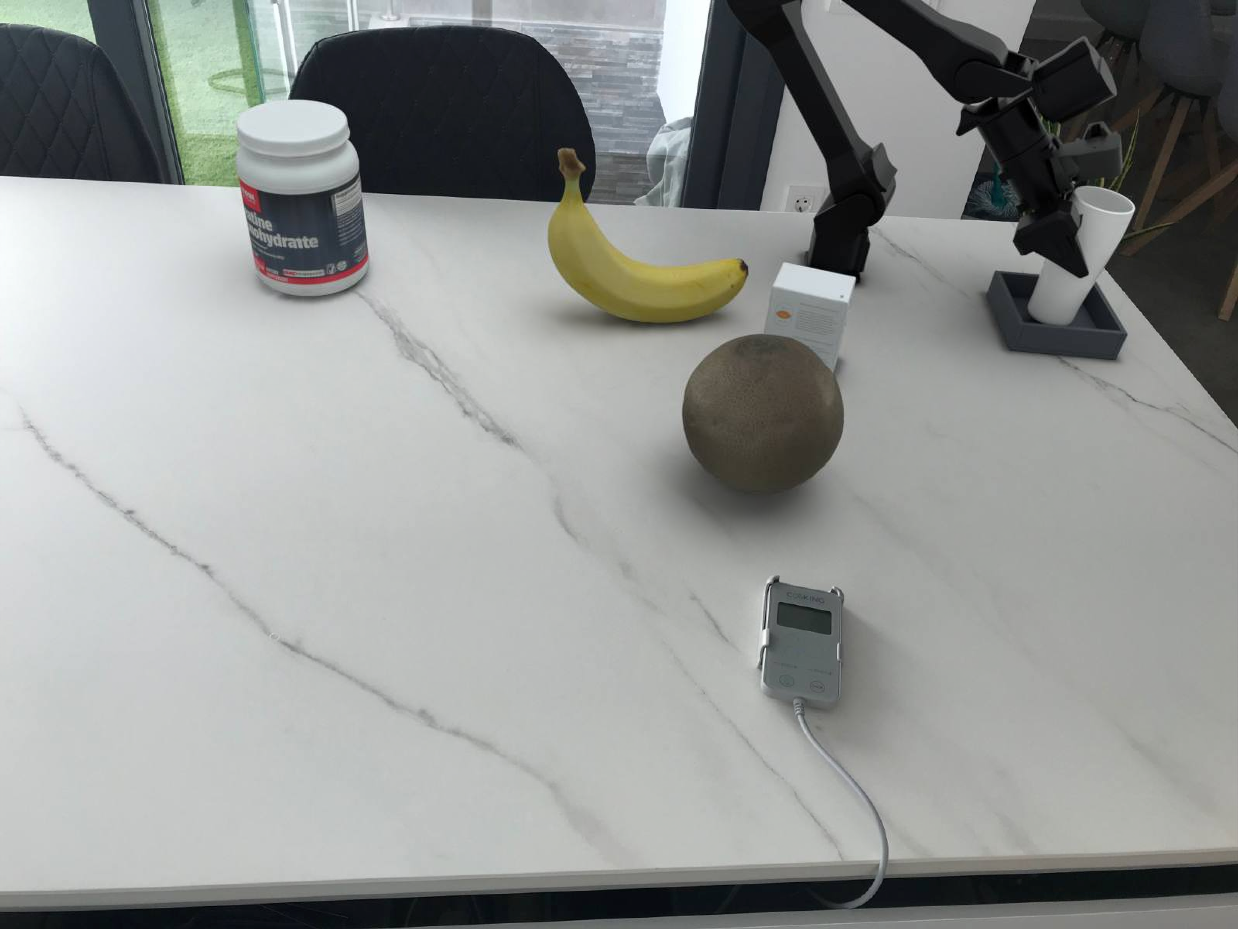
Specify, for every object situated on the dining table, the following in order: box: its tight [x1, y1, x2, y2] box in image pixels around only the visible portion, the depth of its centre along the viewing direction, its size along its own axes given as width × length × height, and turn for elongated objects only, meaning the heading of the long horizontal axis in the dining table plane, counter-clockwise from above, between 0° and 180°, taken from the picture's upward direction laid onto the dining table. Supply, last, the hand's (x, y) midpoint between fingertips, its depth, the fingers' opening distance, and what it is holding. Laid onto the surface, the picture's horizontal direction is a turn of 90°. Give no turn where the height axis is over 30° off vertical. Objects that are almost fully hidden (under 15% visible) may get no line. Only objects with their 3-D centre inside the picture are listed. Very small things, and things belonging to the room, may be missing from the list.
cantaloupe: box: [681, 333, 845, 494], centre depth 87 cm, size 14×14×15 cm
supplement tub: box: [235, 99, 370, 297], centre depth 109 cm, size 13×13×18 cm
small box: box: [763, 261, 856, 374], centre depth 103 cm, size 8×6×10 cm
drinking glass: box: [1027, 185, 1136, 326], centre depth 111 cm, size 7×7×15 cm
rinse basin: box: [986, 270, 1129, 361], centre depth 115 cm, size 12×12×4 cm
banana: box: [547, 147, 750, 324], centre depth 106 cm, size 23×6×20 cm, turn 97°
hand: (1086, 263), depth 110 cm, fingers closed on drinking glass, 6 cm apart
